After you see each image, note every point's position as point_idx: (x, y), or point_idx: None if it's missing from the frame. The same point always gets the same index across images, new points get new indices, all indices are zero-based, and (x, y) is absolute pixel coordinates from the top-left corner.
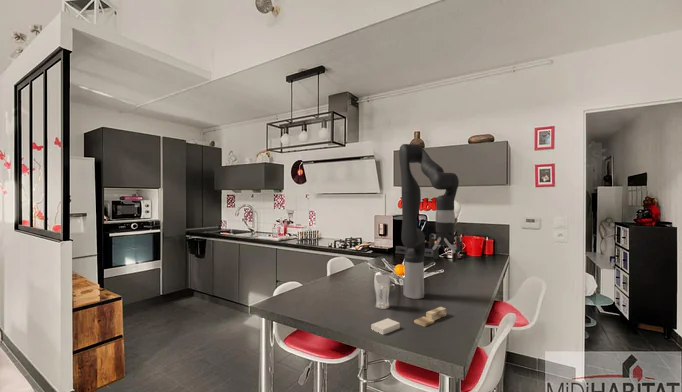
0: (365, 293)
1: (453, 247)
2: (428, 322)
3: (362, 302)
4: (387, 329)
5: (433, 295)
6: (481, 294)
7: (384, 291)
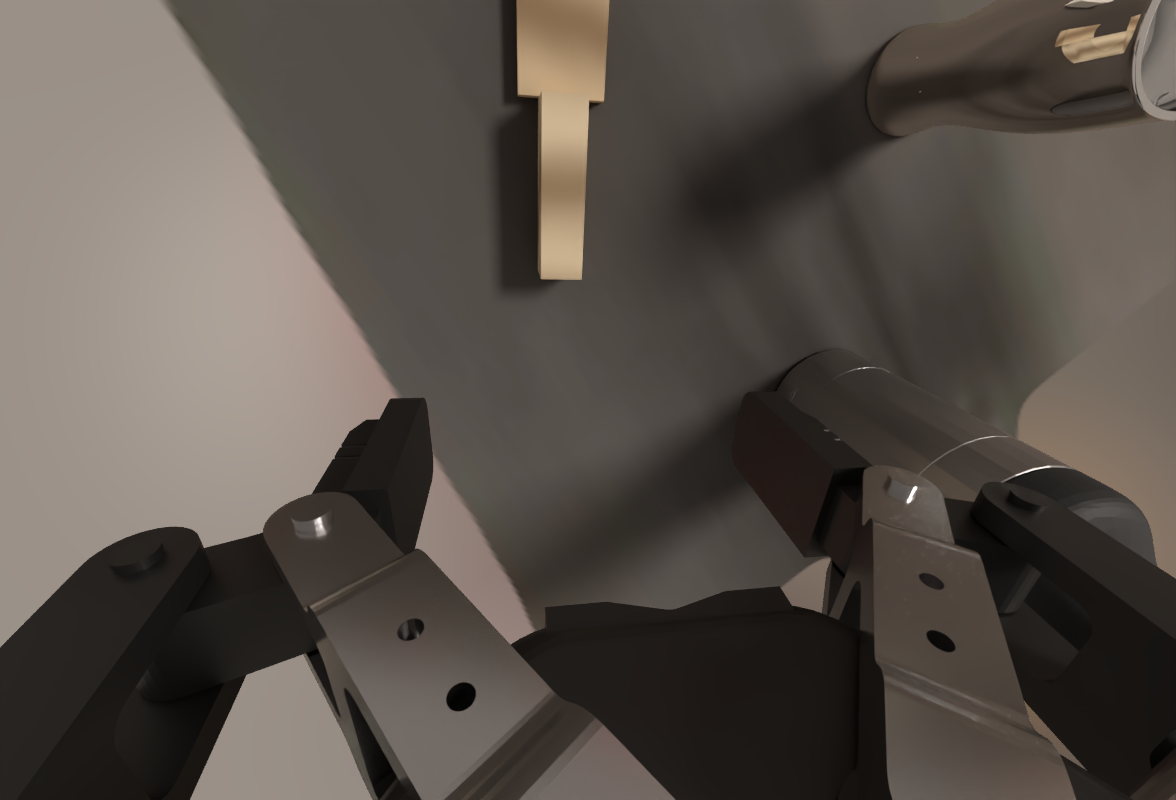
0: (1086, 221)
1: (310, 627)
2: (518, 14)
3: None
4: None
5: (744, 478)
6: None
7: (991, 17)
